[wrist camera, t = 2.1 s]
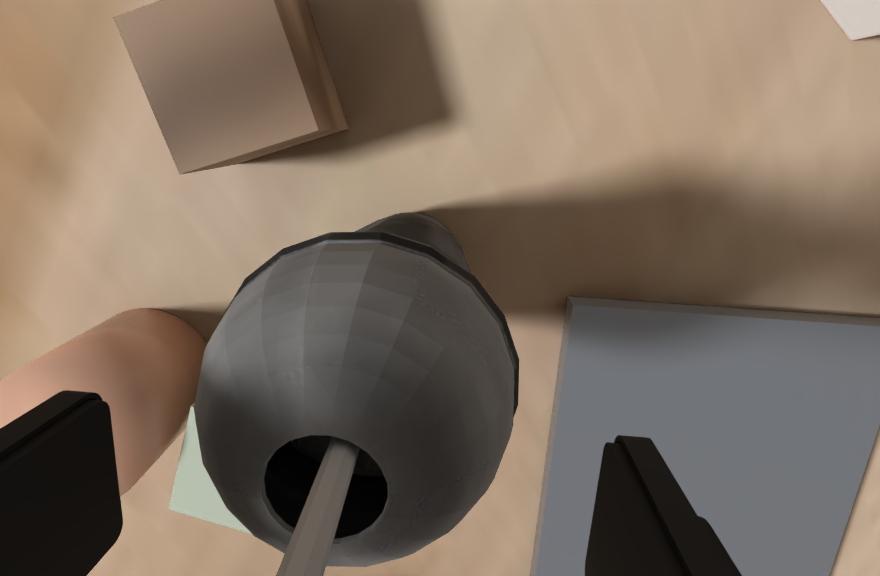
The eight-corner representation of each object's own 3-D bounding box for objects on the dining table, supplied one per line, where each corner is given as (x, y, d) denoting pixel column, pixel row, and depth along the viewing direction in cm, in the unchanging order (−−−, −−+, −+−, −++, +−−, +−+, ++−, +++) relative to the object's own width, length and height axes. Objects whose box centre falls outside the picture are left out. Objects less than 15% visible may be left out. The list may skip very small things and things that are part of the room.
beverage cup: (303, 298, 24) (-268, 922, 5) (368, 148, 22) (-181, 292, 3) (448, 365, 25) (402, 1135, 6) (524, 226, 23) (814, 717, 4)
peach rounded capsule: (84, 303, 25) (-29, 357, 19) (212, 312, 25) (137, 369, 19) (100, 418, 27) (1, 498, 21) (220, 427, 27) (153, 511, 21)
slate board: (567, 296, 24) (573, 305, 23) (890, 318, 24) (912, 328, 22) (528, 584, 29) (531, 604, 27) (797, 606, 28) (811, 627, 27)
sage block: (241, 353, 26) (190, 406, 21) (343, 385, 26) (316, 444, 21) (220, 440, 27) (168, 509, 22) (317, 470, 27) (286, 544, 22)
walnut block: (190, 40, 22) (113, 17, 17) (306, 0, 21) (261, -37, 16) (238, 163, 23) (179, 174, 18) (349, 128, 22) (318, 130, 18)
